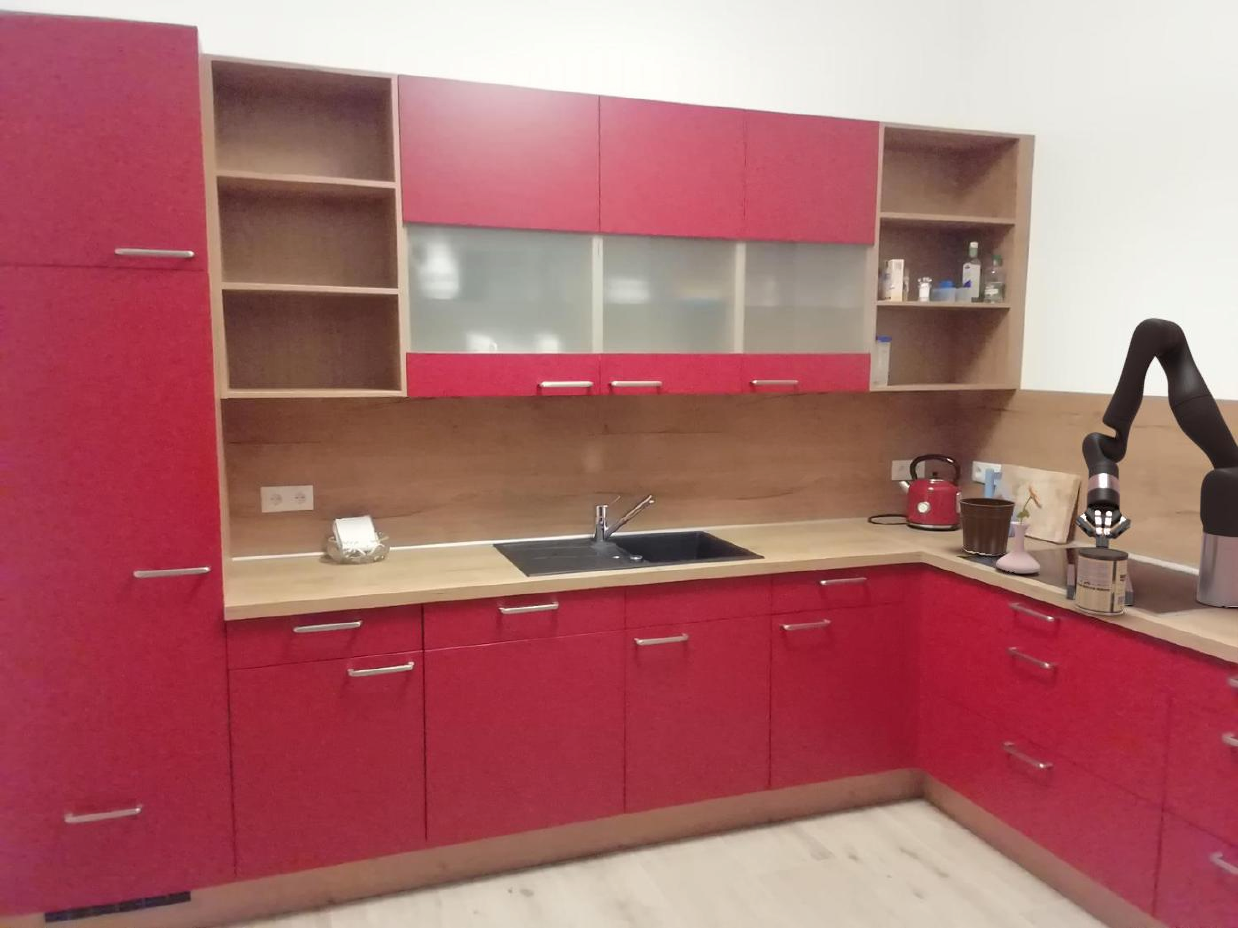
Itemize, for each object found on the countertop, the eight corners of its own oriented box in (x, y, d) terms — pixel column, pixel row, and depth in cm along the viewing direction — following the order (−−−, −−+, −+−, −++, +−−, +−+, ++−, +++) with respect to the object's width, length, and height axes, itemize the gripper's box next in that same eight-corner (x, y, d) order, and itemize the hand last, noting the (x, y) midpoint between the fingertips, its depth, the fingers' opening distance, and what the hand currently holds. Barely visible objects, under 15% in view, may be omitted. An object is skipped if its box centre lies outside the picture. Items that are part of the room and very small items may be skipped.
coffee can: (1075, 601, 211) (1079, 544, 209) (1124, 608, 206) (1128, 549, 204) (1072, 611, 202) (1077, 552, 201) (1123, 618, 197) (1128, 557, 195)
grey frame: (1126, 582, 230) (1127, 570, 230) (1132, 606, 207) (1133, 592, 207) (1067, 576, 237) (1068, 564, 236) (1066, 598, 214) (1067, 584, 213)
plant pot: (975, 559, 257) (978, 505, 255) (945, 548, 273) (948, 497, 271) (1024, 557, 260) (1027, 504, 258) (991, 546, 276) (994, 496, 274)
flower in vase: (1026, 578, 234) (1032, 487, 231) (987, 570, 243) (992, 482, 240) (1051, 572, 241) (1057, 483, 238) (1012, 564, 250) (1017, 479, 248)
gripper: (1075, 484, 226) (1073, 538, 216) (1134, 488, 220) (1134, 543, 210) (1073, 502, 231) (1071, 555, 221) (1131, 505, 225) (1131, 560, 215)
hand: (1102, 549), depth 216 cm, fingers closed
